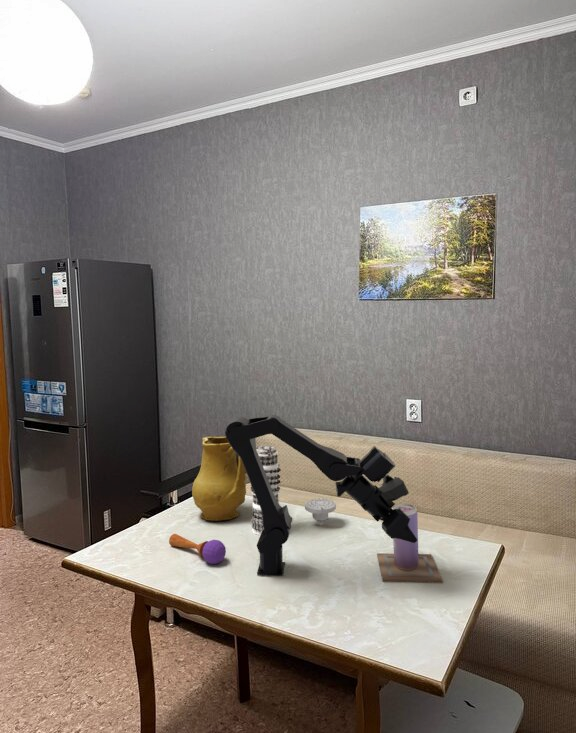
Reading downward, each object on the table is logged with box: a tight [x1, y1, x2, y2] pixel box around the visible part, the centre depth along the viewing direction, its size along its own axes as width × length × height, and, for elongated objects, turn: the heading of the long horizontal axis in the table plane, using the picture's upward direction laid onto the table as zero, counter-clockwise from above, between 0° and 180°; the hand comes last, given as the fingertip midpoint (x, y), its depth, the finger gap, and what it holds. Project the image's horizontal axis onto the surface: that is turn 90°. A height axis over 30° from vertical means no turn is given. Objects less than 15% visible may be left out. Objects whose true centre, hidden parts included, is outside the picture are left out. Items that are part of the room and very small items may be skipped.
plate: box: [376, 552, 444, 584], centre depth 133 cm, size 14×14×1 cm
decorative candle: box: [249, 445, 282, 536], centre depth 157 cm, size 9×9×25 cm
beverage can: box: [392, 503, 419, 570], centre depth 132 cm, size 6×6×15 cm
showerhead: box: [304, 497, 337, 526], centre depth 162 cm, size 9×7×10 cm
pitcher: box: [191, 436, 247, 522], centre depth 169 cm, size 17×19×25 cm
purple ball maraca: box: [168, 533, 227, 565], centre depth 143 cm, size 6×6×20 cm
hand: (409, 533), depth 132 cm, fingers open, 9 cm apart
